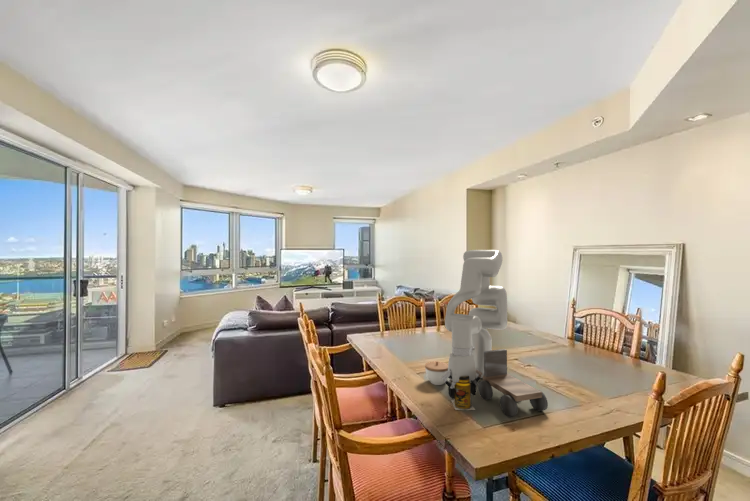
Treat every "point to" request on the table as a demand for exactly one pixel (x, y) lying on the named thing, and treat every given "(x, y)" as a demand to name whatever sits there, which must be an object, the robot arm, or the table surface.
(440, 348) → the table surface
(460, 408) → the condiment
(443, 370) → the lidded jar
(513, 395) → the trolley
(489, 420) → the table surface
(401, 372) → the table surface
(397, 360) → the table surface
